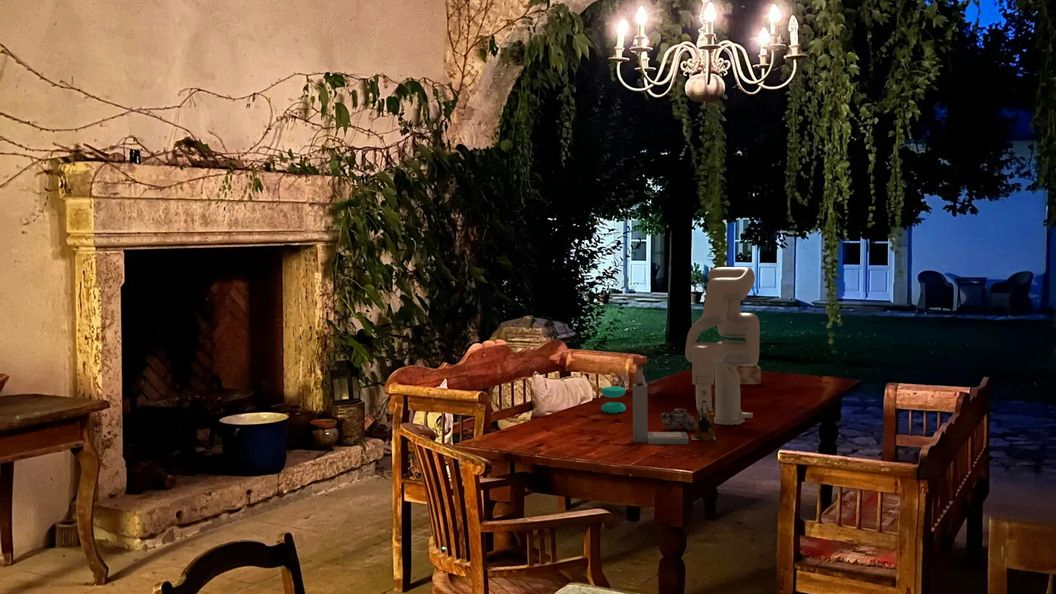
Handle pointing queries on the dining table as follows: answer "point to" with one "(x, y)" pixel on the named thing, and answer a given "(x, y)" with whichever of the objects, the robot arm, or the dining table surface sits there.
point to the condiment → (710, 433)
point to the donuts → (613, 406)
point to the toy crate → (748, 375)
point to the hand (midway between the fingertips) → (703, 429)
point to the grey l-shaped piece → (642, 422)
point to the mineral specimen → (678, 419)
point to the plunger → (639, 368)
